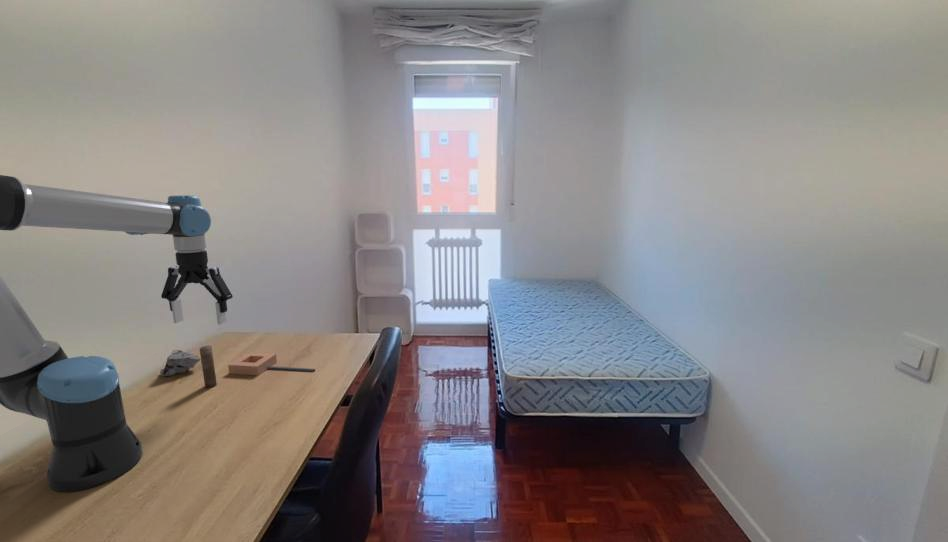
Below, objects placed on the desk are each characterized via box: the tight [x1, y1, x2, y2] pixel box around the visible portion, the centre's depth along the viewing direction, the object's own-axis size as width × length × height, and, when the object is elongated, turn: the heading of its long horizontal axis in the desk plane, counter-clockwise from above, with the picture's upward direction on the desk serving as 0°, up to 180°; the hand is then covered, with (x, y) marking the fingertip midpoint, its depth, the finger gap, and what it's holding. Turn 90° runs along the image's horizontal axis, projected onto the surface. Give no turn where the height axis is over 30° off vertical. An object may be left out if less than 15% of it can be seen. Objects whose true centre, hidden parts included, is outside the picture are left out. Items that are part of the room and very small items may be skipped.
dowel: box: [199, 345, 218, 389], centre depth 126 cm, size 3×3×12 cm
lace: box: [267, 365, 316, 373], centre depth 138 cm, size 1×16×1 cm, turn 83°
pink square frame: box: [227, 351, 278, 376], centre depth 139 cm, size 10×10×3 cm
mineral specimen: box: [159, 349, 201, 377], centre depth 136 cm, size 10×8×10 cm
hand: (200, 322), depth 125 cm, fingers open, 13 cm apart
